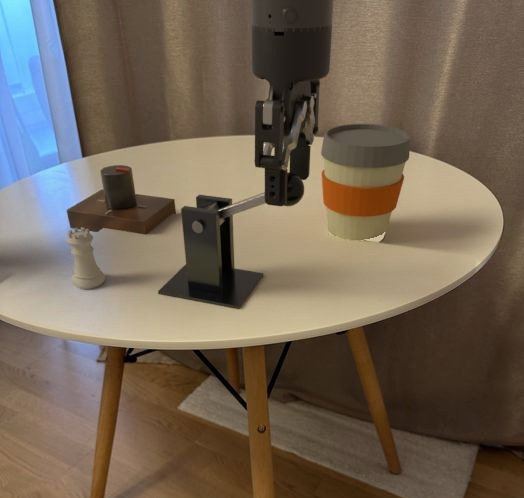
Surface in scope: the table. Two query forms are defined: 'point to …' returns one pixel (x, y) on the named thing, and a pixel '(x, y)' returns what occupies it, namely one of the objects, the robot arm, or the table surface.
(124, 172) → the knob
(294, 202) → the ball knob lever
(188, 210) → the black lever stand
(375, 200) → the reusable coffee cup
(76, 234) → the rook chess piece
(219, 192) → the table surface
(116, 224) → the wooden knob base
